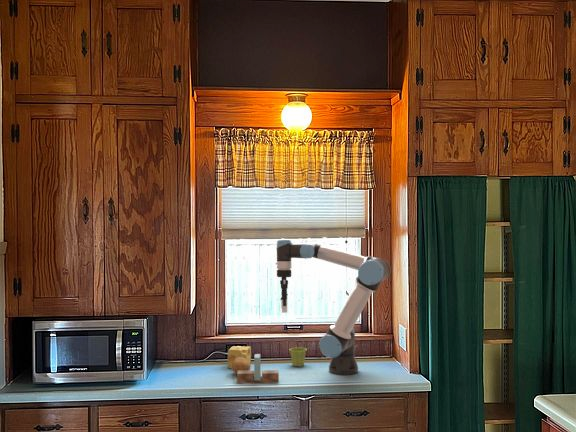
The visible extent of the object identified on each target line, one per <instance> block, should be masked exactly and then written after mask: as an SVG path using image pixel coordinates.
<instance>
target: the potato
mask: <svg viewBox="0 0 576 432" xmlns="http://www.w3.org/2000/svg"><path fill="white" fill-rule="evenodd" d="M231 369H232V371H233V373H235V374H236V375H237V372H238V371H251V363H249V361H248V360H246V359H245V358H243V357H237V358H236V359H235V360H234V361H233V364H232V368H231Z"/></svg>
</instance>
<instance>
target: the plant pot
mask: <svg viewBox="0 0 576 432" xmlns="http://www.w3.org/2000/svg"><path fill="white" fill-rule="evenodd" d="M288 350H289V351H290V352H289V353H290V357H291V364H292V366H293V367H298V368H299V367H303V366H304V365H305V360H306V359H305V357H306V353H307V350H308V348H305V347H292V348H289V349H288Z"/></svg>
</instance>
